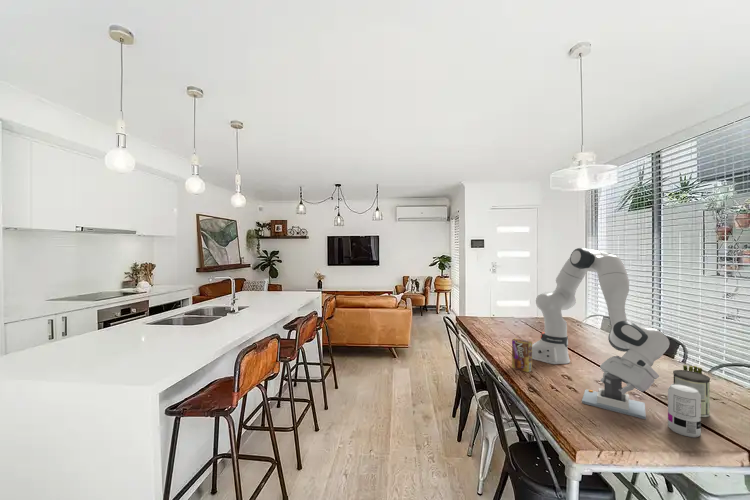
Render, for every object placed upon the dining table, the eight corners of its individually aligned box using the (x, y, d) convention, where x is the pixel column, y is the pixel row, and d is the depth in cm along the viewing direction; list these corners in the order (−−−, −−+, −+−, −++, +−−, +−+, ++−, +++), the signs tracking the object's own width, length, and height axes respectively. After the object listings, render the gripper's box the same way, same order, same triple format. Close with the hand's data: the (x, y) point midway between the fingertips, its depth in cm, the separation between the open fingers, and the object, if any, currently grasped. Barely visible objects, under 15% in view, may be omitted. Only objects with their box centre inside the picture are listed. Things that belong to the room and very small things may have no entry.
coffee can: (667, 402, 132) (667, 368, 132) (699, 406, 128) (699, 371, 128) (681, 414, 122) (682, 377, 122) (716, 419, 119) (717, 381, 119)
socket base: (581, 403, 131) (581, 394, 131) (585, 391, 142) (585, 383, 142) (645, 419, 118) (645, 409, 118) (644, 405, 129) (644, 396, 129)
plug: (604, 399, 132) (604, 375, 132) (613, 399, 132) (614, 374, 132) (611, 403, 128) (611, 378, 128) (621, 403, 128) (621, 378, 128)
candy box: (532, 370, 166) (532, 341, 166) (528, 372, 163) (528, 342, 163) (515, 366, 173) (515, 337, 173) (511, 367, 170) (511, 339, 170)
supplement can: (661, 425, 114) (661, 383, 114) (682, 424, 115) (682, 382, 115) (685, 438, 106) (685, 393, 106) (707, 437, 107) (708, 392, 107)
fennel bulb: (681, 391, 142) (681, 364, 142) (688, 389, 144) (688, 363, 144) (698, 397, 137) (698, 369, 137) (705, 395, 139) (705, 367, 139)
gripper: (609, 349, 141) (588, 372, 140) (652, 366, 120) (626, 392, 120) (619, 359, 141) (597, 382, 141) (663, 378, 121) (638, 404, 120)
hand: (611, 387), depth 130 cm, fingers open, 8 cm apart
